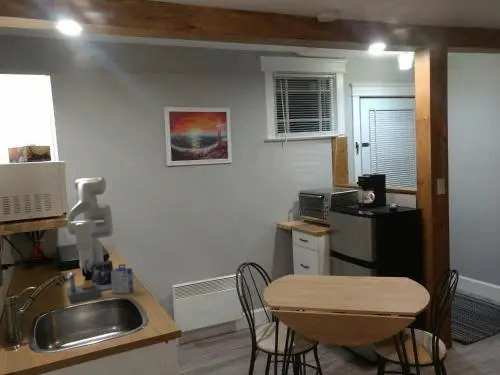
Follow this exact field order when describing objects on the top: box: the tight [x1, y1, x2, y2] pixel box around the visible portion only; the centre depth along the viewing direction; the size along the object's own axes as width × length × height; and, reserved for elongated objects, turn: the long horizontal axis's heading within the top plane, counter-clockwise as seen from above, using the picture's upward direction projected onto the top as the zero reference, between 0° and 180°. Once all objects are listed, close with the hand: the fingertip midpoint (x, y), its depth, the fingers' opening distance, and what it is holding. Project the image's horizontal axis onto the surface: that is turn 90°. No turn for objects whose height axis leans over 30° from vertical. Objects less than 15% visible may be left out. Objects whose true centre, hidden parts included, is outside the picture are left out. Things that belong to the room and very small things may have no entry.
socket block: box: [66, 276, 102, 304], centre depth 232 cm, size 14×15×11 cm
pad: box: [98, 283, 112, 292], centre depth 244 cm, size 9×9×1 cm
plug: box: [82, 277, 93, 290], centre depth 233 cm, size 5×5×9 cm
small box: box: [90, 260, 114, 286], centre depth 253 cm, size 13×7×12 cm, turn 90°
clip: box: [64, 271, 77, 284], centre depth 223 cm, size 15×4×2 cm, turn 10°
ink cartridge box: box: [111, 263, 134, 294], centre depth 235 cm, size 10×6×14 cm, turn 78°
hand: (87, 278), depth 232 cm, fingers open, 9 cm apart
